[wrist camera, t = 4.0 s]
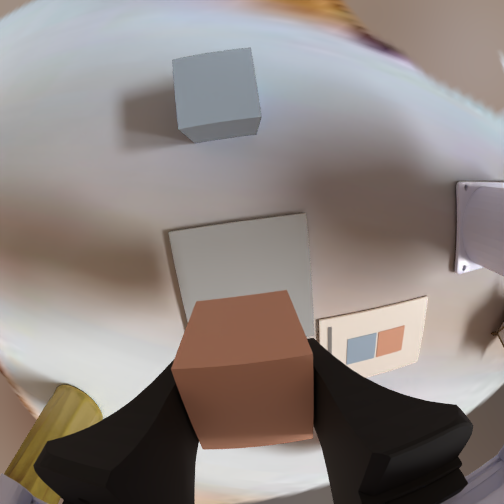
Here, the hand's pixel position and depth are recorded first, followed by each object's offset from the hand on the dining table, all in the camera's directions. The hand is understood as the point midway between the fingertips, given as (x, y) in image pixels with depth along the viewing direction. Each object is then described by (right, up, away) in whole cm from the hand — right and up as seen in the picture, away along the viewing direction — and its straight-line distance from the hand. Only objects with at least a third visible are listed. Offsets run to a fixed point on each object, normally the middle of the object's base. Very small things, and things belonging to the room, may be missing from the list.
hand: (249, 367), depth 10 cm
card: (+10, -3, +11) cm, 15 cm away
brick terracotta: (0, +1, +2) cm, 2 cm away
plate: (0, +2, +9) cm, 9 cm away
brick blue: (-2, +14, +6) cm, 15 cm away
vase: (-19, -12, +12) cm, 25 cm away
